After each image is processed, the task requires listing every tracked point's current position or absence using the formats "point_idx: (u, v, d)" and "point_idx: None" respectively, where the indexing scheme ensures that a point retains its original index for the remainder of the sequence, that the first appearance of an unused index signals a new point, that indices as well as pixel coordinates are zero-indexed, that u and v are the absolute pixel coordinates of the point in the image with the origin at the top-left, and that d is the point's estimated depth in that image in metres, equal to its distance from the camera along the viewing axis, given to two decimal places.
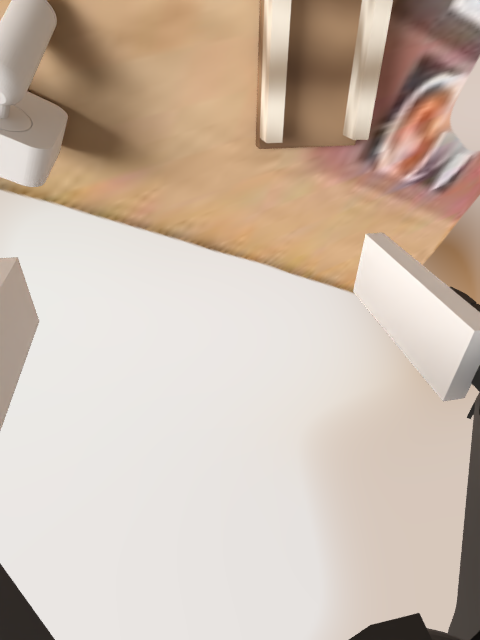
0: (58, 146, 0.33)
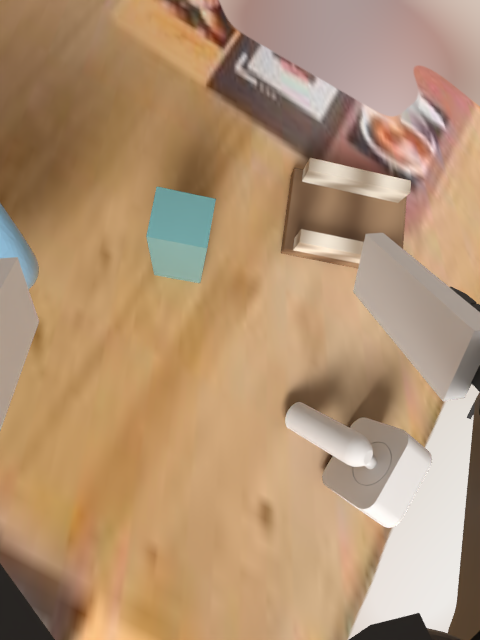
0: None
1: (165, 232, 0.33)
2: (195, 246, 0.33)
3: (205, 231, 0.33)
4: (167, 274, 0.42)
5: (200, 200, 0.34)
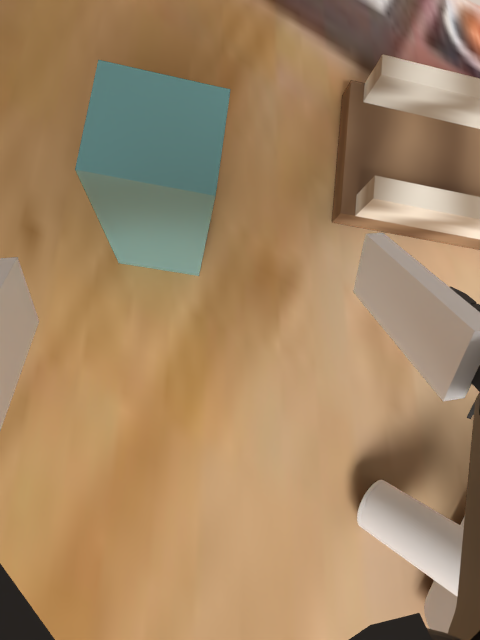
0: None
1: (119, 161, 0.14)
2: (189, 193, 0.15)
3: (211, 158, 0.15)
4: (140, 262, 0.24)
5: (197, 92, 0.15)
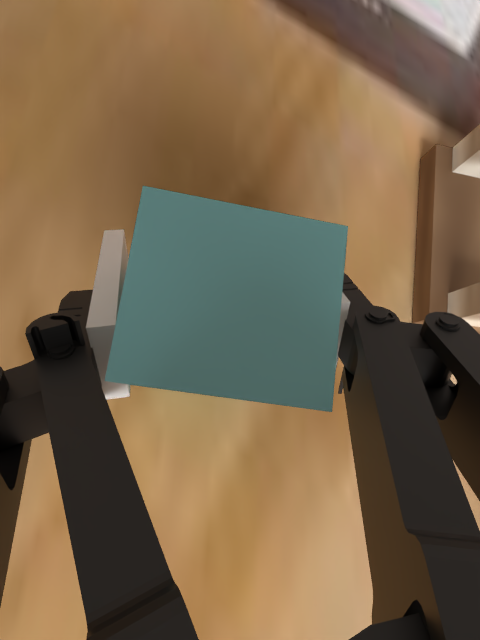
0: None
1: (177, 360, 0.09)
2: None
3: (322, 346, 0.09)
4: None
5: (298, 233, 0.10)
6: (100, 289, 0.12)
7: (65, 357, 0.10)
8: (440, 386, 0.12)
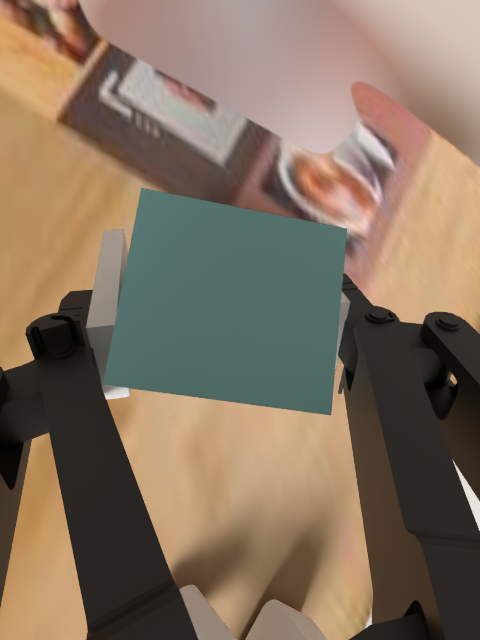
0: (310, 629, 0.28)
1: (176, 363, 0.09)
2: (288, 409, 0.09)
3: (321, 349, 0.09)
4: None
5: (297, 235, 0.10)
6: (100, 289, 0.12)
7: (65, 357, 0.10)
8: (440, 386, 0.12)
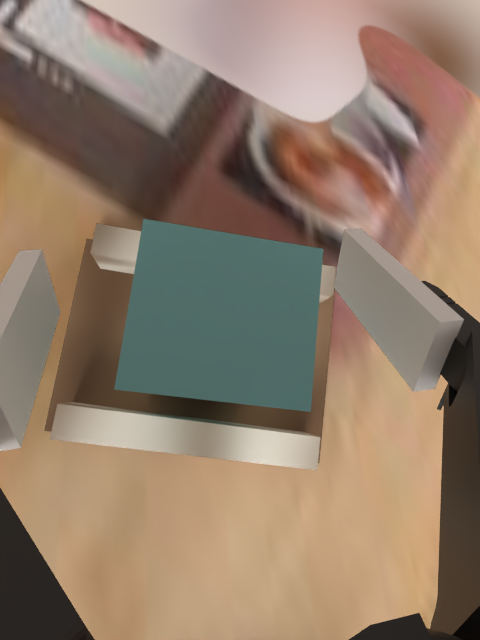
0: None
1: (176, 370, 0.10)
2: (274, 407, 0.10)
3: (302, 355, 0.11)
4: None
5: (279, 256, 0.11)
6: None
7: None
8: None
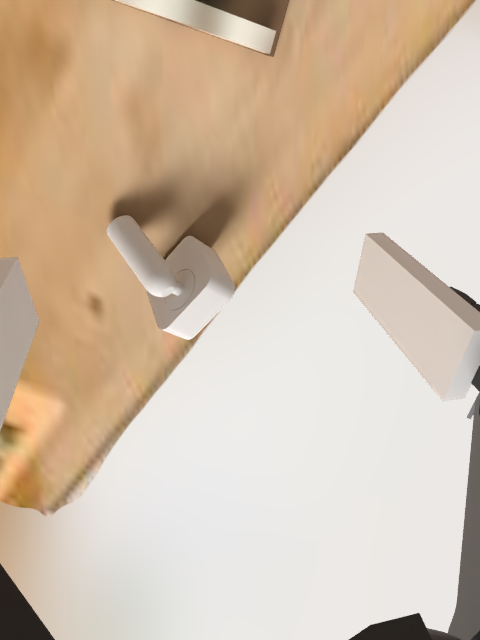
0: (211, 256, 0.41)
1: None
2: None
3: None
4: None
5: None
6: None
7: None
8: None
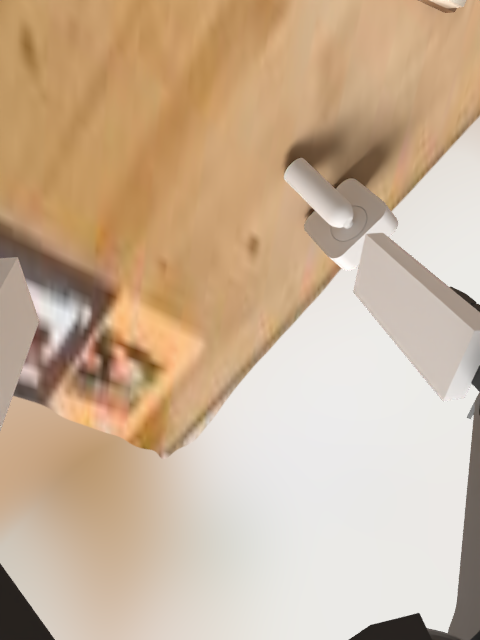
0: None
1: None
2: None
3: None
4: None
5: None
6: None
7: None
8: None
